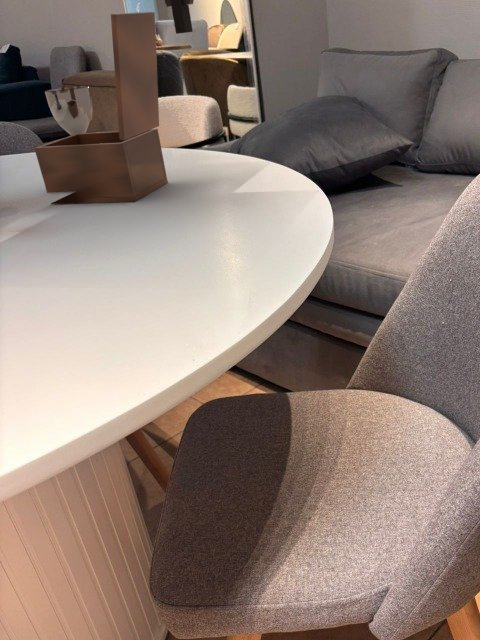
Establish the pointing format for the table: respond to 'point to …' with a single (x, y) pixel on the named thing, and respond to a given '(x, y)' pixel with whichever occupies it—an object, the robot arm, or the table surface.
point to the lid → (135, 72)
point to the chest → (102, 167)
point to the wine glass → (71, 108)
